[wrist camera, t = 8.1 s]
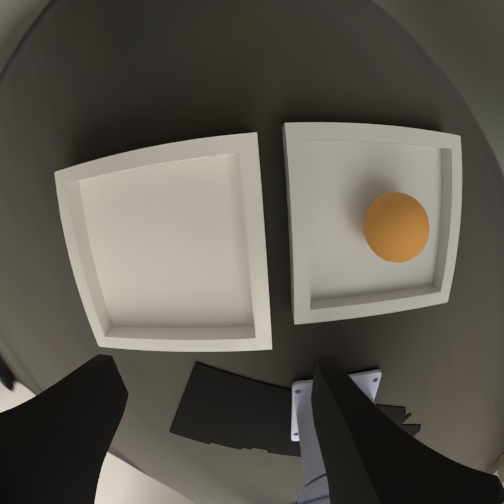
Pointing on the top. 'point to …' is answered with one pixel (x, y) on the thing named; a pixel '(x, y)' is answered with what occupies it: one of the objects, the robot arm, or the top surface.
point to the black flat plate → (246, 412)
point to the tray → (354, 211)
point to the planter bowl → (501, 468)
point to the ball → (396, 227)
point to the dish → (171, 245)
